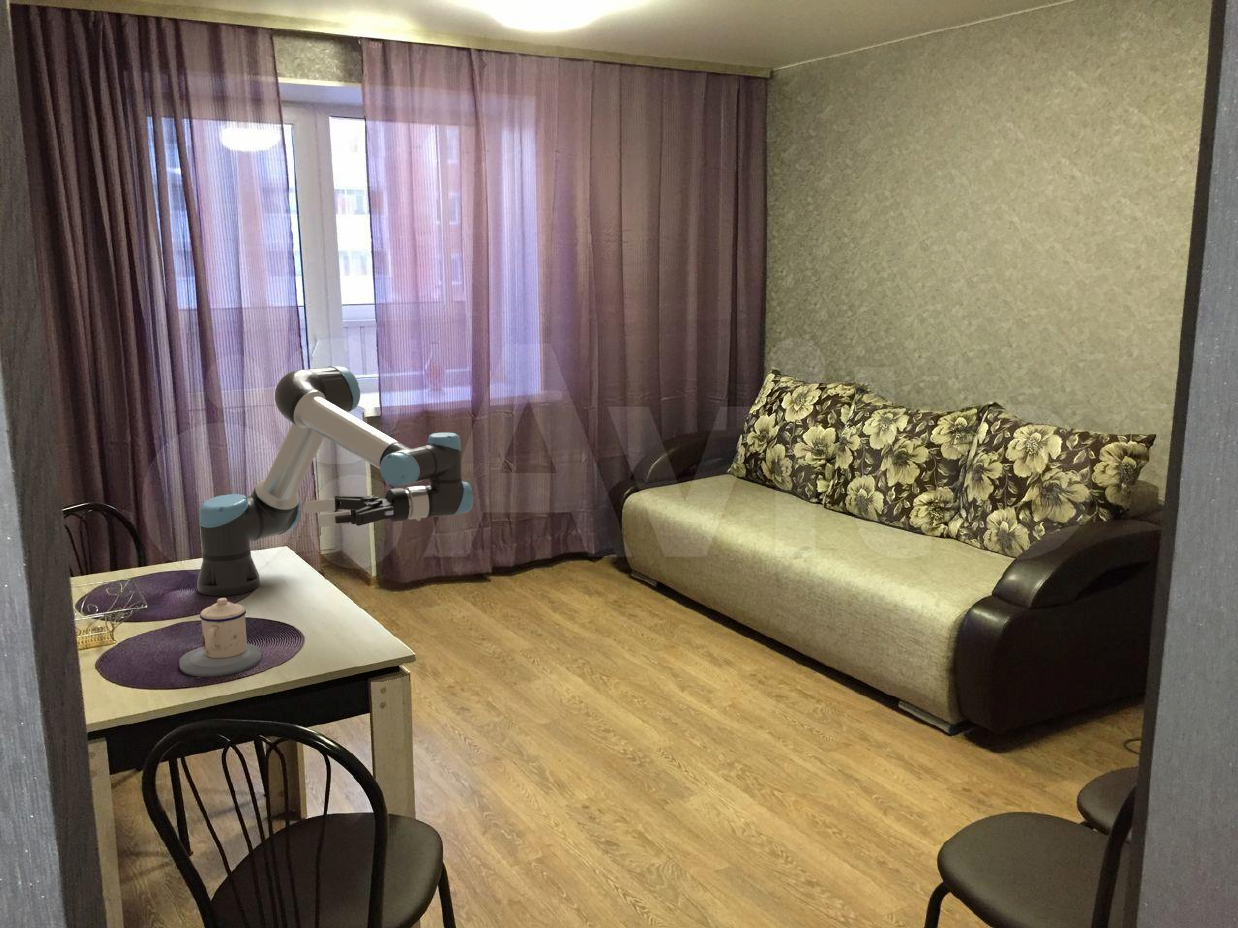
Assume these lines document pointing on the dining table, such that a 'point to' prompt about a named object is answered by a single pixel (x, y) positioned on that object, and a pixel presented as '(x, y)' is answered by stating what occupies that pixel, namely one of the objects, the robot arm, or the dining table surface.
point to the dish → (218, 662)
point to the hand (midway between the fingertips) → (312, 513)
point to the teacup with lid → (224, 629)
